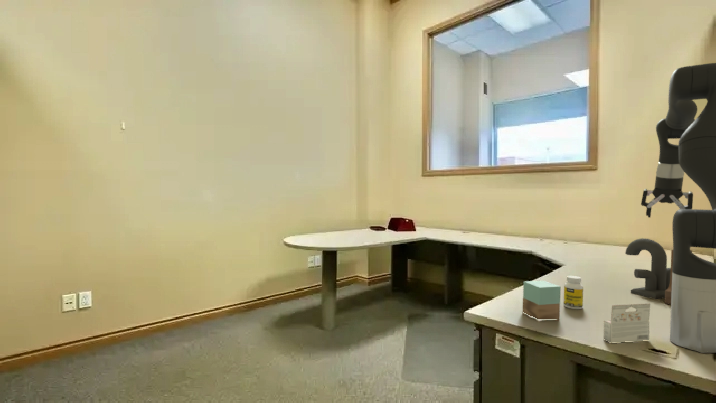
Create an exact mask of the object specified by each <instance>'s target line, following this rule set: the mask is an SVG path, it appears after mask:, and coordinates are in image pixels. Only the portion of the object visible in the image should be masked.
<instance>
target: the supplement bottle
mask: <svg viewBox="0 0 716 403" xmlns="http://www.w3.org/2000/svg"><path fill="white" fill-rule="evenodd" d="M581 283H582V277H580V276H578V275H577V276H576V275H567V276H566V282H565V283H564V285H563V307H565V308H567V309H572V310H581V309H583V305H584V303H583V302H584V285H583V284H581Z"/></svg>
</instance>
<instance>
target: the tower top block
mask: <svg viewBox="0 0 716 403" xmlns="http://www.w3.org/2000/svg"><path fill="white" fill-rule="evenodd" d="M522 290H523V292H522V293H523V294H522V295H523V296H522V299H523V298H525V299H527V300H529V301H531V302H534V303H536V304H538V305H546V304H560V305H561V290H562V289H561V285H559V284H555V283H551V282H549V281H546V280H530V281H529V280H526V281H523V289H522Z"/></svg>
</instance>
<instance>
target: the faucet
mask: <svg viewBox="0 0 716 403" xmlns="http://www.w3.org/2000/svg"><path fill="white" fill-rule="evenodd" d="M642 251H647V252H648V253H649V254H650V257H651V261H650V262H651V266H650V268H651V269H644V268H643V269H642V268H634V271H633V275H634V277H635V278H636V279H644V286H642V287H635V288H633V289H631V290H630V294H633V295H637V296H641V297H645V298H649V299H654V300H659V299H665V291H666V290H667V289H668V287H669V284H670V275H671V267H667V265H668V256H667V254H666V250H665V249H664V247H663V246H662V245H661V244H660V243H659V242H657V241H655V240H653V239H651V238H643V237H642V238H637V239H635V240H632V241H631V242H630V243H628V245H627V247H626V249H625V252H624V253H625V255H626V256H640V253H641V252H642Z"/></svg>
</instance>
